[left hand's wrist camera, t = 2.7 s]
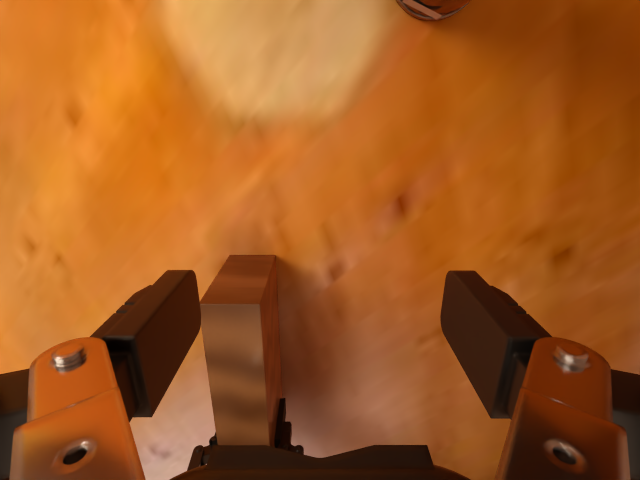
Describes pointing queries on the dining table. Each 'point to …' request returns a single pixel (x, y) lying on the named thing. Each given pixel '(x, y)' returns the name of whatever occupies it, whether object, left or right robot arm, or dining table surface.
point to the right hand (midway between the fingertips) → (259, 405)
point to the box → (243, 350)
